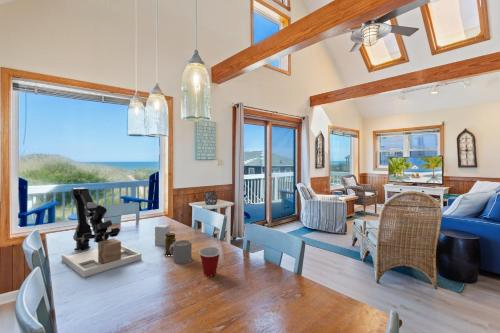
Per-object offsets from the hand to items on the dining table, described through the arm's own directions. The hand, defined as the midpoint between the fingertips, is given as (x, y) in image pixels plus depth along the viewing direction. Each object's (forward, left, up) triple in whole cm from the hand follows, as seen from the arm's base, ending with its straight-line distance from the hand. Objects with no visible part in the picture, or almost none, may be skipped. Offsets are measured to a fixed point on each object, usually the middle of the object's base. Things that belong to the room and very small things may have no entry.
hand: (105, 247), depth 139 cm
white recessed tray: (-5, +2, -8) cm, 10 cm away
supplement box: (+13, +35, -8) cm, 38 cm away
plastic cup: (+62, 0, -8) cm, 62 cm away
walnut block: (+4, -2, -7) cm, 8 cm away
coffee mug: (+38, +14, -8) cm, 41 cm away
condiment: (+28, +20, -9) cm, 35 cm away
